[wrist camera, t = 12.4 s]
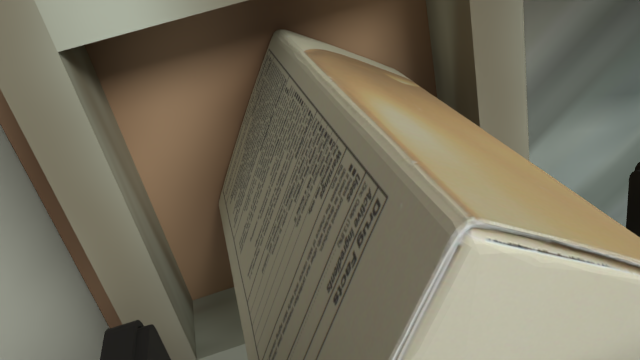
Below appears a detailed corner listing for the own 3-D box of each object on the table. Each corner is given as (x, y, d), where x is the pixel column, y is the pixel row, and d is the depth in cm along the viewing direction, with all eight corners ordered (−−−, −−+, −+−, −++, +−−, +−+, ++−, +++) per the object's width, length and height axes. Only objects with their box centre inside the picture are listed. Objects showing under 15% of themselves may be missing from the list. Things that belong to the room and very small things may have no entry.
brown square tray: (488, -206, 16) (575, -233, 13) (513, 240, 24) (572, 298, 21) (-85, -66, 15) (-163, -54, 11) (141, 366, 22) (137, 453, 19)
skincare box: (331, 228, 20) (511, 591, 10) (213, 202, 19) (274, 602, 8) (403, 58, 18) (737, 289, 8) (276, 13, 17) (472, 225, 6)
